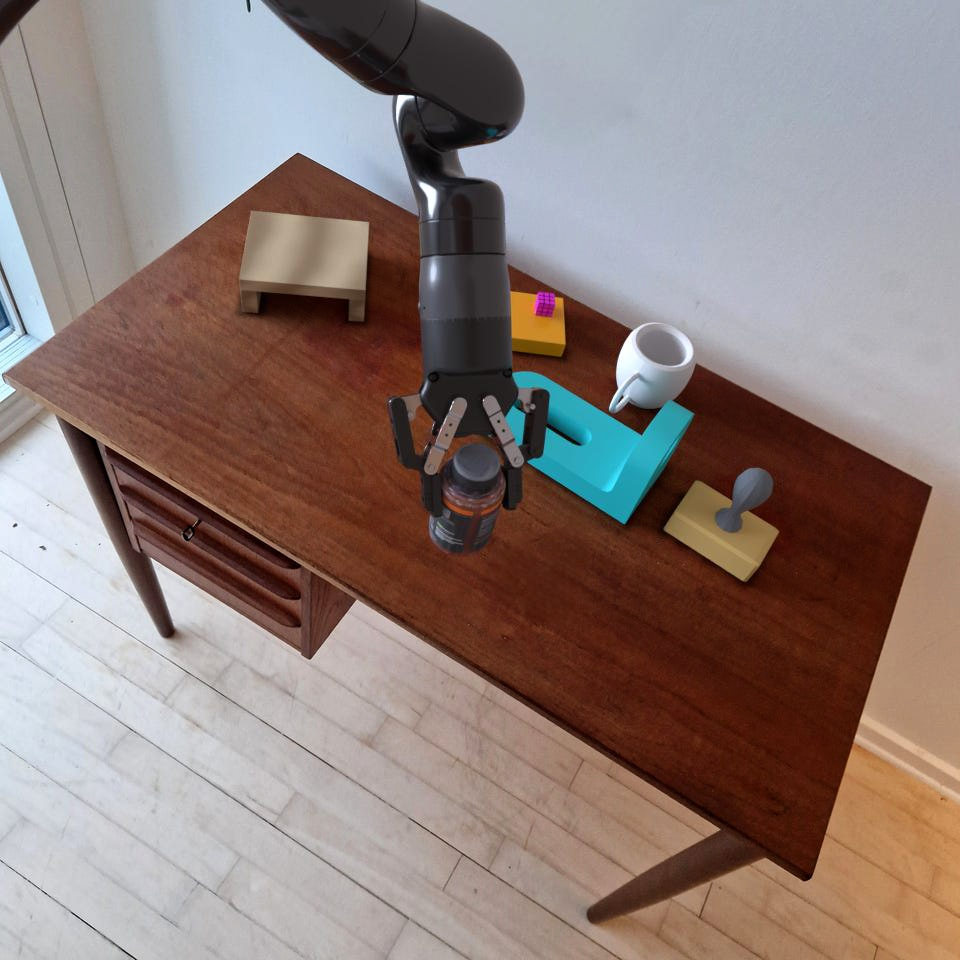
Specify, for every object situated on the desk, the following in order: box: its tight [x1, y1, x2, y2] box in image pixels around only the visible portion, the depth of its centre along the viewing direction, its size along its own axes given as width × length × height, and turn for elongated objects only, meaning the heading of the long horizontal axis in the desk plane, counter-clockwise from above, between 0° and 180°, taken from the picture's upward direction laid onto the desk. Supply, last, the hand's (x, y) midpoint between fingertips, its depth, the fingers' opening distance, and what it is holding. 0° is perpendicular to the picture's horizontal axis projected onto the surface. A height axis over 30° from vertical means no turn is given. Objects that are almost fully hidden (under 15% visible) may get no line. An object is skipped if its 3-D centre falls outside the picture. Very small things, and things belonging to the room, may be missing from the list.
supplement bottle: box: [428, 442, 506, 558], centre depth 74 cm, size 6×6×11 cm
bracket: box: [488, 371, 695, 525], centre depth 89 cm, size 20×9×12 cm, turn 56°
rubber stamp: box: [663, 467, 780, 583], centre depth 85 cm, size 10×6×12 cm, turn 55°
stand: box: [238, 210, 370, 323], centre depth 100 cm, size 14×12×5 cm
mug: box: [608, 321, 697, 415], centre depth 96 cm, size 12×8×8 cm
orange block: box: [510, 290, 567, 358], centre depth 101 cm, size 8×8×4 cm
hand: (473, 511), depth 73 cm, fingers closed on supplement bottle, 6 cm apart
